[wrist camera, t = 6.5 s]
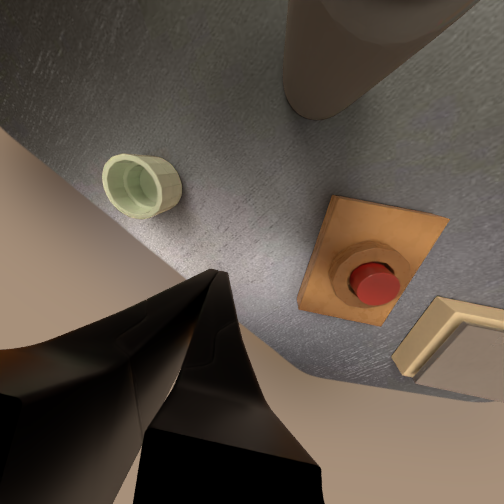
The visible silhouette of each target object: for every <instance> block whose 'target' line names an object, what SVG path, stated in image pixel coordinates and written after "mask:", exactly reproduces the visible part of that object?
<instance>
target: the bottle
mask: <svg viewBox="0 0 504 504" xmlns="http://www.w3.org/2000/svg"><path fill="white" fill-rule="evenodd" d="M479 1H480V0H289V2H288V13H287V25H286V36H285V47H284V61H283V86H284V91H285V94H286V97H287V100H288V102H289V103H290V105H291V107H292V108H293V109H294V110H295V111H296V112H297V113H298V114H300V115H301V116H303V117H305V118H308V119H311V120H323V119H327V118H330V117H332V116H334V115H336V114H338V113H340V112H341V111H342V110H344V109H345V108H347V107H348V106H349V105H351V104H352V103H353V102H354V101H356V100H357V99H358V98H360V97H361V96H362V95H363V94H365V93H366V92H367V91H369V90H370V89H371V88H373V87H374V86H375V85H376V84H378V83H379V82H380V81H381V80H383V79H384V78H385V77H386V76H388V75H389V74H390V73H392V72H393V71H394V70H395V69H397V68H398V67H399V66H400V65H402V64H403V63H404V62H406V61H407V60H408V59H409V58H411V57H412V56H413V55H414V54H416V53H417V52H418V51H419V50H421V49H422V48H423V47H425V46H426V45H427V44H428V43H430V42H431V41H432V40H433V39H435V38H436V37H437V36H438V35H440V34H441V33H442V32H443V31H444V30H446V29H447V28H448V27H449V26H451V25H452V24H453V23H454V22H455V21H457V20H458V19H459V18H460V17H461V16H463V15H464V14H465V13H466V12H467V11H468V10H469V9H471V8H472V7H473V6H474V5H475V4H476V3H478V2H479Z"/></svg>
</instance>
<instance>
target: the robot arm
mask: <svg viewBox="0 0 504 504" xmlns="http://www.w3.org/2000/svg"><path fill="white" fill-rule="evenodd" d="M180 369H181V370H180ZM179 371H180V372H179ZM178 373H179V375H178ZM177 375H178V377H177ZM176 377H177V380H176V382H175V385H174V387H173V389H172V390H171V392H170V394H169V395H168V397H167V398H166V396H167V394H168V393H169V391H170V389H171V387H172V385H173V383H174V381H175V379H176ZM165 399H166V400H165ZM142 442H143V443H142ZM141 446H142V449H141V456H140V462H139V468H138V475H137V481H136V487H135V493H134V500H133V504H325V503H324V499H323V492H322V477H321V468H320V467H319V465H318V464H317V463H316V462H315V461H314V460H313V458H312V457H311V456H310V455H309V454H308V453H307V451H306V450H305V449H304V448H303V447H302V446H301V444H300V443H299V442H298V441H297V440H296V438H295V437H294V436H293V435H292V434H291V433H290V431H289V430H288V429H287V428H286V427H285V425H284V424H283V423H282V422H281V421H280V420H279V418H278V417H277V416H276V415H275V414H274V413H273V411H272V410H271V409H270V407H269V405H268V404H267V402H266V400H265V398H264V396H263V394H262V391H261V389H260V387H259V384H258V381H257V378H256V376H255V373H254V371H253V368H252V365H251V362H250V360H249V357H248V355H247V352H246V349H245V346H244V343H243V340H242V336H241V332H240V328H239V323H238V319H237V314H236V309H235V304H234V299H233V294H232V290H231V285H230V280H229V275H228V273H227V272H224V271H218V270H215V269H208V270H206V271H204V272H202V273H200V274H198V275H196V276H194V277H192V278H190V279H188V280H185V281H184V282H181V283H179V284H177V285H175V286H173V287H171V288H169V289H167V290H165V291H163V292H161V293H159V294H157V295H154V296H152V297H150V298H148V299H147V301H146V300H144V301H142V302H140V303H138V304H136V305H134V306H131V307H129V308H127V309H125V310H123V311H120V312H118V313H116V314H113V315H111V316H108V317H106V318H103V319H101V320H99V321H96V322H93V323H91V324H89V325H86V326H84V327H81V328H78V329H76V330H74V331H71V332H68V333H66V334H63V335H61V336H58V337H56V338H53V339H50V340H48V341H45V342H42V343H38V344H35V345H31V346H26V347H21V348H14V349H6V350H0V504H113V502H114V500H115V498H116V496H117V494H118V492H119V490H120V488H121V486H122V484H123V482H124V480H125V478H126V476H127V474H128V472H129V470H130V468H131V466H132V464H133V462H134V460H135V458H136V456H137V454H138V452H139V450H140V448H141Z"/></svg>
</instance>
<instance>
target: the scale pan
mask: <svg viewBox="0 0 504 504" xmlns="http://www.w3.org/2000/svg"><path fill="white" fill-rule="evenodd" d="M412 379H413V381H414V382H415V383H416V384H420V385H425V386H430V387H434V388H439V389H444V390H448V391H453V392H458V393H462V394H467V395H472V396H476V397H481V398H486V399H490V400H495V401H500V402H504V329H499V328H494V327H490V326H485V325H480V324H475V323H470V322H465V321H462V323H461V324H460V325H459V326H458V327H457V328H456V329H455V330H454V332H453V333H452V334H451V335H450V336H449V337H448V338H447V339H446V340H445V342H444V343H443V344H442V345H441V346H440V347H439V348H438V349H437V351H436V352H435V353H434V354H433V355H432V356H431V357H430V358H429V360H428V361H427V362H426V363H425V364H424V365H423V366H422V367H421V369H420V370H419V371H418V372H417V373H416V374H415V375H414V376H413V378H412Z"/></svg>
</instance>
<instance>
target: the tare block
mask: <svg viewBox="0 0 504 504" xmlns="http://www.w3.org/2000/svg"><path fill="white" fill-rule="evenodd" d="M449 220H450V219H448V218H445V217H442V216H438V215H435V214H432V213H426V212H421V211H416V210H411V209H405V208H400V207H395V206H390V205H384V204H379V203H374V202H369V201H363V200H358V199H353V198H348V197H342V196H337V195H332V197H331V200H330V203H329V206H328V209H327V212H326V215H325V218H324V221H323V224H322V226H321V229H320V232H319V235H318V238H317V241H316V244H315V247H314V250H313V253H312V255H311V258H310V261H309V264H308V267H307V270H306V273H305V276H304V279H303V282H302V285H301V287H300V290H299V293H298V296H297V303H298V309H299V310H304V311H308V312H313V313H318V314H323V315H328V316H333V317H337V318H342V319H347V320H352V321H357V322H361V323H366V324H371V325H376V326H382V324H383V323H384V321H385V320H386V318H387V316H388V315H389V313H390V312H391V310H392V309H393V307H394V306H395V304H396V302H397V301H398V299H399V298H400V296H401V295H402V293H403V292H404V290H405V288H406V287H407V285H408V284H409V282H410V281H411V279H412V278H413V276H414V274H415V273H416V271H417V270H418V268H419V267H420V265H421V264H422V262H423V261H424V259H425V257H426V256H427V254H428V253H429V251H430V250H431V248H432V247H433V245H434V243H435V242H436V240H437V239H438V237H439V236H440V234H441V233H442V231H443V229H444V228H445V226H446V225H447V223H448V222H449ZM366 263H379V264H382V265H383V266H385V267H386V268H387V269H388V270H389V271H390V272H391V273H392V274H393V275H395V276H396V277H397V278H398V280H399V282H400V291H399V293H398V295H397V296H396V297H395V298H394V299H393V300H391V301H390V302H388V303H385V304H382V305H368V304H365V303H363V302H362V301H360V299H359V298H358V297H357V295H356V293H355V292H354V290H353V289H352V287H351V285H350V276H351V274H352V272H353V271H354V270H355V269H356V268H357V267H359V266H360V265H363V264H366Z"/></svg>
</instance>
